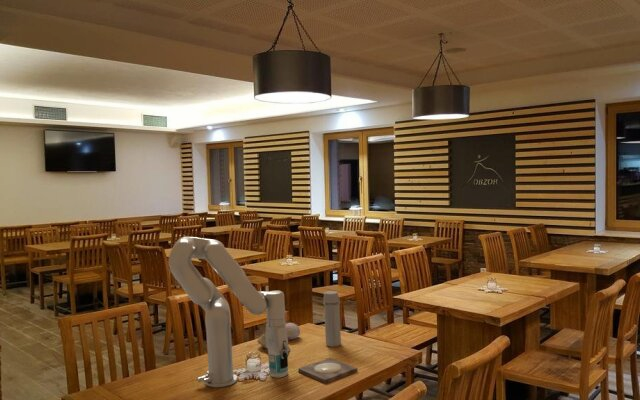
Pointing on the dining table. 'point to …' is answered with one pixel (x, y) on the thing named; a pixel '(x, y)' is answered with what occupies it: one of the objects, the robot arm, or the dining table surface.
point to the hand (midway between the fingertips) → (278, 364)
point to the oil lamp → (262, 340)
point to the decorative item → (292, 330)
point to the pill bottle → (276, 365)
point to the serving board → (327, 370)
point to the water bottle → (332, 318)
